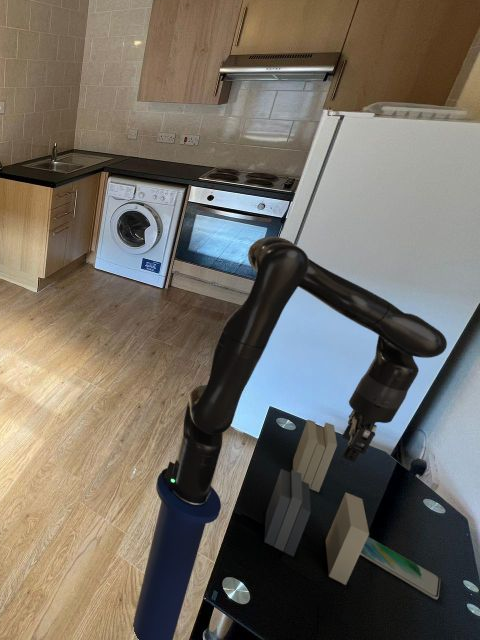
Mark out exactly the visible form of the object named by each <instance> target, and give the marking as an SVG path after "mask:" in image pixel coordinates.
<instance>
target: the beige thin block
mask: <svg viewBox="0 0 480 640" xmlns="http://www.w3.org/2000/svg"><path fill="white" fill-rule="evenodd" d="M368 537H370V531H369V526H368V521H367V516H366V512H365V506H364V500H363V498H360V497H358V496H356V495H353V494H351V493H348V492H345V493H344V495H343V498H342V500H341V502H340V505H339V507H338V509H337V512H336V514H335V516H334V519H333V521H332V523H331V526H330V529H329V531H328V533H327V535H326V538H325V548H326V551H325V552H326V561H327V572H328V578H331V579H333V580H335V581H337V582H339V583H341V584H342V585H344V586H346V585H347V584H348V582H349V580H350V577H351V575H352V573H353V571H354V568H355V567H356V564H357V562H358V559H359V558H360V556H361V555H360V553H361V551H362V549H363V546H364V544H365V542H366V540H367V538H368Z"/></svg>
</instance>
